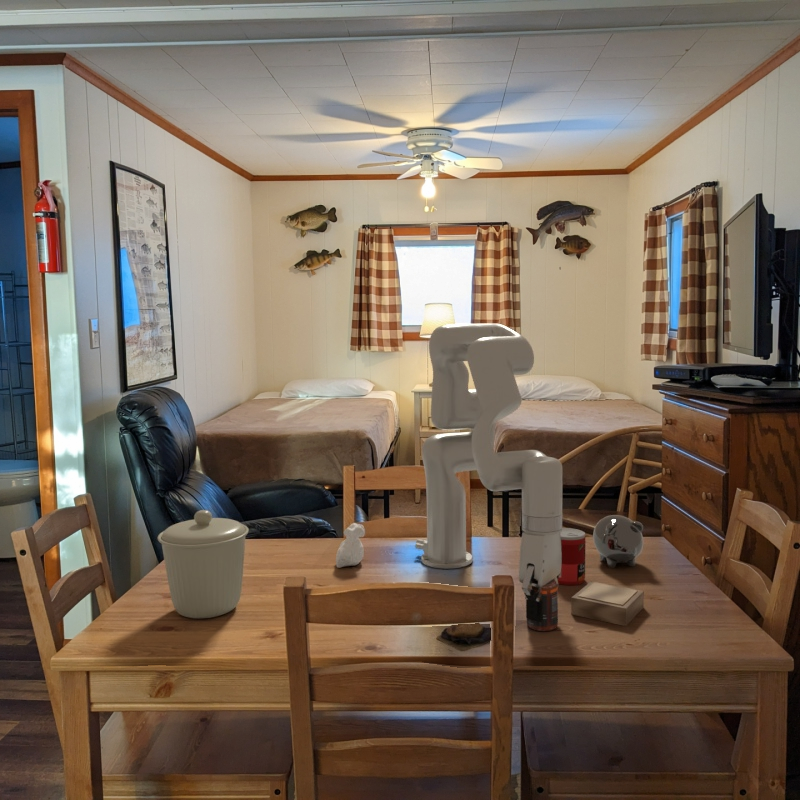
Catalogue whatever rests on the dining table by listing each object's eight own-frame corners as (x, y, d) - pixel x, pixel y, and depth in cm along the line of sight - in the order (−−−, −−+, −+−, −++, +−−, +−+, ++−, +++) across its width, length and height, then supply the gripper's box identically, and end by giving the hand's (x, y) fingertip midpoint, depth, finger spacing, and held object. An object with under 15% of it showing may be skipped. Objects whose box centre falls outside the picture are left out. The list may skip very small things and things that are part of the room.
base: (571, 614, 149) (571, 596, 148) (591, 597, 158) (591, 580, 157) (626, 626, 143) (626, 607, 142) (643, 607, 151) (643, 590, 151)
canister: (219, 632, 144) (214, 525, 141) (142, 620, 150) (137, 518, 148) (267, 599, 160) (263, 503, 158) (196, 590, 167) (192, 497, 164)
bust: (344, 580, 177) (371, 545, 175) (319, 560, 178) (346, 525, 176) (358, 564, 189) (383, 531, 186) (335, 545, 190) (360, 512, 187)
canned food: (585, 586, 164) (586, 537, 163) (548, 584, 166) (549, 536, 165) (584, 575, 172) (584, 528, 171) (549, 573, 173) (549, 527, 172)
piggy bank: (607, 575, 171) (608, 526, 170) (584, 555, 186) (584, 510, 185) (654, 572, 172) (655, 524, 171) (627, 553, 187) (628, 508, 186)
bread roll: (463, 656, 133) (462, 636, 132) (432, 640, 139) (432, 621, 139) (505, 639, 139) (505, 620, 139) (474, 625, 146) (473, 607, 145)
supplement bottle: (557, 620, 146) (557, 564, 145) (558, 633, 140) (558, 574, 139) (526, 619, 147) (526, 563, 146) (526, 631, 141) (525, 573, 140)
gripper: (542, 510, 150) (542, 596, 152) (503, 530, 136) (503, 625, 138) (578, 514, 146) (577, 603, 148) (541, 536, 132) (541, 634, 134)
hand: (542, 613), depth 143 cm, fingers closed on supplement bottle, 6 cm apart
